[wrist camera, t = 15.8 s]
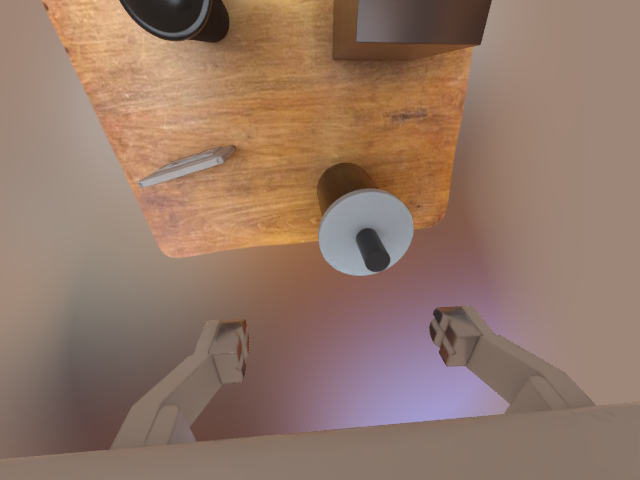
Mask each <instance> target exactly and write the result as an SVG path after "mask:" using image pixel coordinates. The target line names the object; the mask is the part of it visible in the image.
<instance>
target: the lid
mask: <svg viewBox="0 0 640 480" xmlns="http://www.w3.org/2000/svg"><path fill="white" fill-rule="evenodd" d="M412 237H413V219H412V216H411V214H410V212H409V210H408V209H407V207H406V206H405V205H404V204H403V203H402V201H400V200H399V199H398V198H397V197H396V196H394V195H393V194H391V193H389V192H387V191H384V190H380V189H370V188H368V189H360V190H355V191H353V192H350V193H348V194H345V195H343V196H342V197H340V198H339V199H337V200H336V201H335V202H334V203H333V204H332V205H331V206H330V207H329V208H328V209H327V211H326V212H325V213H324V215H323V217H322V219H321V222H320V225H319V230H318V239H319V246H320V249H321V252H322V255H323V256H324V258H325V260H326V261H327V262H328V263H329V264H330V265H331V266H332V267H334V268H335V269H336V270H339V271H340V272H343V273H346V274H350V275H357V276H358V275H360V276H363V275H370V274H375V273H378V272H381V271H383V270H385V269H387V268H389V267H390V266H392V265H393V264H395V263H396V262H397V261H398V260H399V259H400V258H401V257H402V256H403V255H404V254H405V252H406V251H407V249H408V247H409V245H410V243H411V240H412Z"/></svg>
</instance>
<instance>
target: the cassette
mask: <svg viewBox="0 0 640 480" xmlns="http://www.w3.org/2000/svg"><path fill="white" fill-rule="evenodd" d="M234 152H235V148H234V147H233V145H232V146H228V147H225V148H222V147H221V146H220V147H217V148H214V149H210V150H207V151H204V152H201V153H198V154H195V155H191V156H188V157H185V158H182V159H179V160H176V161H173V162H171V163H170V164H168V165H166V166H164V167H162V168H160V169H158V170H157V171H155V172H154V173H152V174H150V175H149V176H147V177H145V178H144V179H142V180H140V181H139V182H137V183H138V184H139V186H140V187H141V188H145V187H148V186H152V185H155V184H158V183H161V182H164V181H168V180H172V179H176V178H178V177H181V176H184V175H187V174H190V173H193V172H197V171H200V170H203V169H208V168H210V167H213V166H216V165H219V164H222V163H224V162H225V161H226V160H227V159H228V158H229V157H230V156H231V155H232V154H233V153H234Z"/></svg>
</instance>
